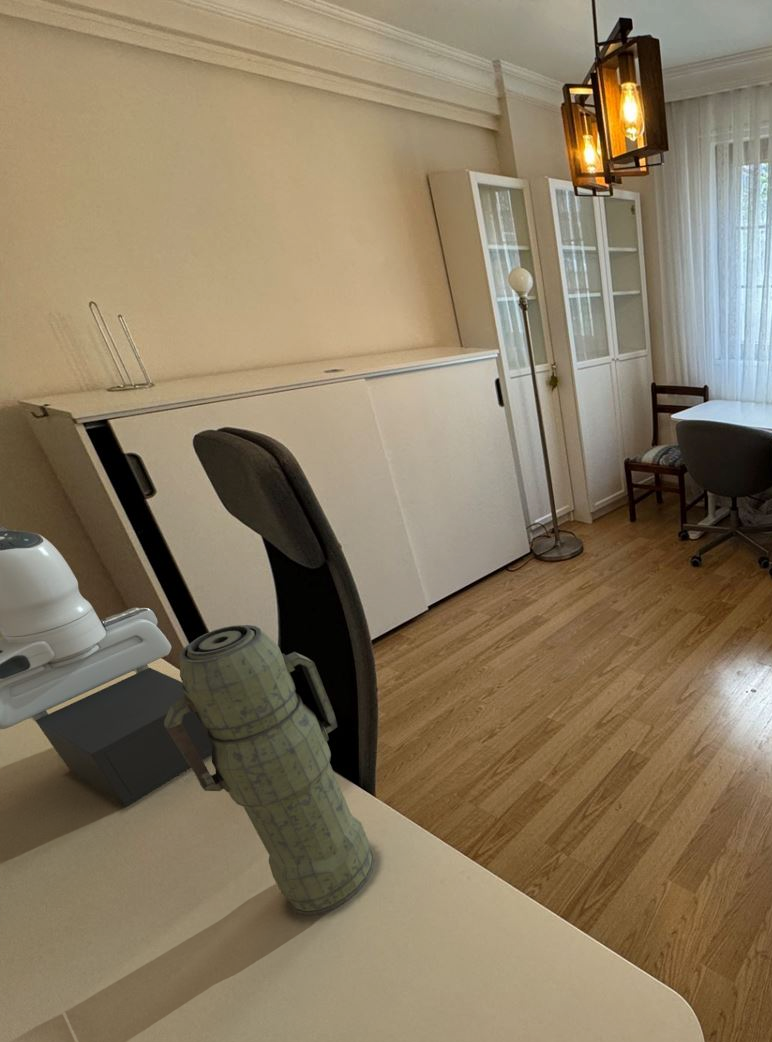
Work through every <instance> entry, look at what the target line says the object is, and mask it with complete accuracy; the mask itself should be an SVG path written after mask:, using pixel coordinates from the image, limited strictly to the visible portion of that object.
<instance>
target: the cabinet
mask: <svg viewBox="0 0 772 1042" xmlns="http://www.w3.org/2000/svg"><path fill="white" fill-rule="evenodd" d="M184 696H185V692H184V690H183V682H182V680H181V681H180V680H179V679H177V678H174V677H172V676H169V675H167V674H165V673H163V672H161V671H158V670H156V669H154V668H152V667H149V668H148V669H145V670H143V671H141V672H139V673H137V674H136V673H135V674H133V675H130V676H128V677H126V678H123V679H121V680H120V681H117V682H115V683H113V684H111V685H109V686H107V687H104V688H102V689H100V690H98V691H95V692H93V693H92V694H89V695H88V696H85V697H83V698H81V699H79V700H76V701H74V702H72V703H70V704H67V705H65V706H63V707H61V708H59V709H57V710H54V711H52V712H50V713H48V715H46V716H44V717H42V718H39V719H37V720H35V721H36V722H35V721H34V722H35V723H36V724H37V725H38V727H39V728H40V730H41V731H42V733H43V734H44V736H45V737H46V738H47V740H48V741H49V743H50V744H51V746H52V747H53V749H54V750H55V751H56V753H57V754H58V757H60V759H61V760H62V761H63V764H64V765H65V766H66V767H67V769H68V770H69V772H71V773H72V774H74V775H75V776H76V777H78V778H80V779H81V780H83V781H85V782H86V783H87V784H89V785H90V786H93V787H94V788H96V789H97V790H98V791H100V792H102V793H103V794H105V795H107V796H108V797H110V798H111V799H113V800H114V801H116V802H117V803H119V804H120V805H122V806H123V807H125V808H127V807H128V806H130V805H132V804H133V803H135V802H137V801H138V800H140V799H141V798H143V797H145V796H147V795H148V794H150V793H151V792H153V791H154V790H156V789H158V788H159V787H162V786H163V785H164V784H167V782H170V781H171V780H173V779H174V778H176V777H177V776H179V775H181V774H183V773H184V772H186V771H187V770H189V769H192V768H191V767H190V765H189V763H188V762H187V760H186V759H185V757H184V756H183V754H182V752H181V751H180V749H179V748H178V746H177V745H176V743H175V742H174V740H173V738H172V737H171V735H170V734H169V732H168V731H167V729H166V727H165V726H164V720H165V718H166V716H167V713H168V711H169V709H170V707H171V704H172V703H174V702H175V701H177V700H179V699H181V698H182V697H184ZM182 725H183V726H184V728H185V730H186V732H187V733H188V735H189V737H190V739H191V741H192V742H193V744H194V746H195V748H196V750H197V751H198V753H199V755H200V757H201V759H202V760H203V761H204V760H205V759H207V758H208V757H210V756H212V743H211V741H210V739H209V737H208V729H207V728H205V727H204V726H203V725H202V724H201V722H200V720H199V719H198V717H197V715H196V713H194V712H193V711H190V712H188V713H186V714H184V718H183V721H182Z"/></svg>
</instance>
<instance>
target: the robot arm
mask: <svg viewBox="0 0 772 1042" xmlns="http://www.w3.org/2000/svg"><path fill="white" fill-rule="evenodd" d="M0 634H1V636H2V637H0V730H6V729H10V728H12V727H14V726H17V725H18V724H20V723H22V722H24V721H27V720H29V719H30V720H32V721H33V722H35V723H36V721H35V720H37V719H39V718H42V717H44V716H46V715H48V714H49V713H48V710H51V709H52V708H55V707H57V706H59V705H61V704H63V703H66V702H68V701H70V700H72V699H75V698H77V697H80V696H81V695H83V694H85V693H88V692H91V691H92V690H95V689H96V688H99V687H101V686H103V685H105V684H108V683H110V682H112V681H114V680H117V679H119V678H121V677H123V676H125V675H127V674H130V673H132V672H134V673H135V674H137V673H139V672H141V671H143V670H145V669H148V668H150V666H149V664H151V663H153V662H156V661H158V660H160V659H163V658H164V657H166V656H168V655H169V654H170V653H171V650H172V648H173V647H172V645H171V642H170V641H169V639H167V638H168V637H166V635H165V634H164V633H163V632H162V631H161V629H160V628H159V627H158V617H157V616H156V614H155V612H154V611H153V610H152V609H150V608H148V607H137V606H136V607H132V608H129V609H126V610H125V611H122V612H120V613H116V614H113V615H109V616H108V617H105V618H102V619H100V618H99V616H98V614H97V613H96V611H95V609H94V607H93V605H92V604H91V603H90V602H89V600H88V599H85V598H84V597H83V595H82V594H81V592H80V589H79V582H78V579H77V578H76V576H75V574H74V572H73V570H72V569H71V567H70V565H69V564H68V562H67V561H66V560H65V558H64V556H63V555H62V554H61V552H60V551H59V550H58V549H57V548H56V547H55V546H54V545H53V543H52V542H50V541H49V540H48V539H47V538H45V537H44V536H42V535H41V534H39V533H38V532H37V533H36V532H34V531H27V530H20V529H19V530H18V529H8V528H6V527H5V526H2V525H1V524H0Z"/></svg>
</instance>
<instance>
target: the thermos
mask: <svg viewBox="0 0 772 1042" xmlns="http://www.w3.org/2000/svg"><path fill="white" fill-rule="evenodd" d="M179 653H180V654H179V677H180V680H181V682H183V690H184V692H185V696H184V697H182V698H181V699H179V700H177V701H175V702H174V703H172V704H171V707H170V709H169V711H168V713H167V716H166V718H165V720H164V726H165V727H166V729H167V731H168V732H169V734H170V735H171V737H172V738H173V740H174V742H175V743H176V745H177V746H178V748H179V749H180V751H181V752H182V754H183V756H184V757H185V759H186V760H187V762H188V763H189V765H190V767H191V768H190V769H191V770H192V772H193V773H194V775H195V777H196V780H197V781H198V783H199V785H200V787H201V788H202V789H203V790H204V792H220V791H222V790H225V792H226V793H228V795H229V797H230V798H231V799H232V800H233V802H235V803H236V804H237V805H239V806H241V807H243V809H244V811H245V812H246V814H247V816H248V819H249V820H250V822H251V824H252V826H253V827H254V829H255V831H256V833H257V835H258V837H259V839H260V841H261V842H262V844H263V846H264V849H265V850H266V852H267V853H268V864H269V868H270V872H271V875H272V877H273V879H274V881H275V883H276V885H277V887H278V888H279V890H280V893H281V894H282V895H283V896H284V897H285V898H286V899H287V900H288V901H289V905H290V907H291V908H292V909H293V910H294V911H295V912H296V913H298V914H300V915H304V916H316V915H321V914H324V913H327V912H330V911H332V910H334V909H337V908H338V907H339V906H342V905H343V904H345V903H347V902H348V901H350V900H351V898H353V897H354V896H356V894H357V893H358V892H360V890H361V889H362V888H363V887H364V886H365V884H366V883H367V882H368V880H369V878H370V877H371V874H372V873H373V870H374V865H375V858H374V855H373V852H372V850H371V849H370V847H371V844H370V841H369V838H368V835H367V834H366V830H365V828H364V826H363V824H362V821H360V820H359V819H358V818H357V817H355V816H354V815H352V813H351V810H350V808H349V805H348V802H347V800H346V798H345V796H344V794H343V791H342V789H341V786H340V784H339V781H338V778H337V776H336V775H335V772H334V770H333V767H332V765H331V763H330V762H331V757H332V753H331V750H330V746H329V744H328V742H329V740H330V738H329V735H328V734H329V733H331V732H332V731H334V730H335V729H337V728H338V722H337V718H336V715H335V712H334V709H333V706H332V703H331V701H330V699H329V696H328V694H327V692H326V689H325V686H324V684H323V681H322V679H321V676H320V674H319V671H318V669H317V666H316V663H315V662H314V661H313V660H311V659H310V658H309V657H307V656H305V655H303V654H300V653H298V652H296V651H292V652H291V653H289V654H285V653H284V652H283V653H282V651H281V649H280V646H279V645H278V644H277V643H276V642H275V641H274V640H273V639H272V638H271V637H270V636H269V635H268V634H267V633H265V632H264V631H263V630H262V629H261V628H259V627H258V626H256V625H249V624H243V625H241V624H239V625H230V626H224V627H220V628H218V629H214V630H211V631H209V632H206V633H204V634H202V635H200V636H198V637H197V638H196V639H194V640H193V641H191V642H190V643H188V644H187V645H185V646H184V648H183V649H182V650H181V651H180V652H179ZM298 665H300V666H301V669H302V670H303V674H304V676H305V678H306V681H307V684H308V685H309V688H310V691H311V693H312V695H313V698H314V700H315V703H316V705H317V708H318V710H319V712H320V715H321V717H322V719H323V721H320V720H319V719H318V717H317V715H316V712H314V711H313V710H312V709H310V708H309V707H308V706H307V705H306V704H305V703H304V702H303V700H302V698H301V696H300V694H298V692H296V690H297V688H296V685H295V682H294V679H293V677H292V674H291V673H292V672H294V671H296V668H295V667H296V666H298ZM190 711H193V712H194V713H196V715H197V717H198V719H199V720H200V722H201V724H202V725H203V726H204V727H205V728H207V729H208V737H209V739H210V741H211V743H212V755H211V763H212V765H213V767H214V769H215V773H214V774H211V773H210V771H209V769H208V768H207V766H206V763H205V762H204V760H202V759H201V757H200V755H199V753H198V751H197V750H196V748H195V746H194V744H193V742H192V741H191V739H190V737H189V735H188V733H187V732H186V730H185V728H184V726H183V725H182V721H183V718H184V714H186V713H188V712H190Z"/></svg>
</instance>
